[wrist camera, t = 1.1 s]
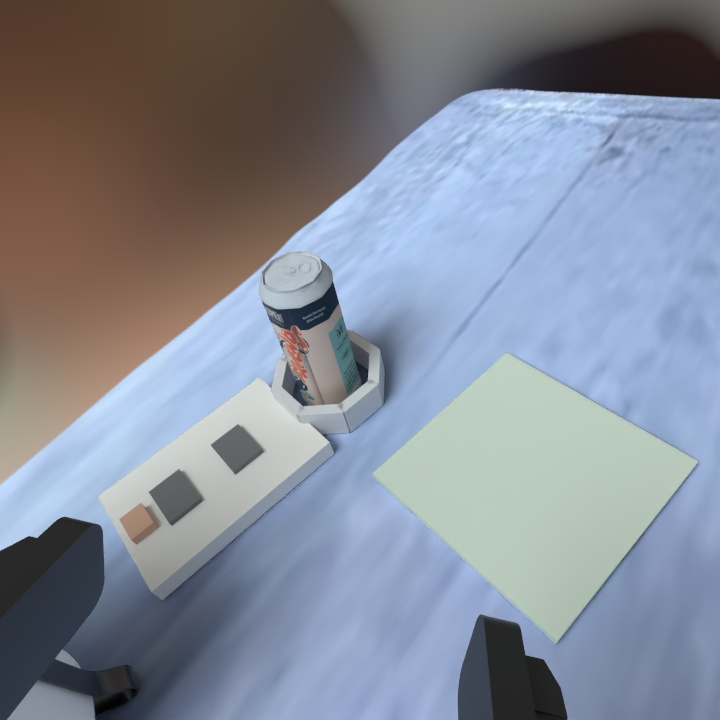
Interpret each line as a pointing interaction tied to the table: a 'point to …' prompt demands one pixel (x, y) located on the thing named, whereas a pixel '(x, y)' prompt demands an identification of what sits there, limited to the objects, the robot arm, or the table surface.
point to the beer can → (310, 327)
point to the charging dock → (231, 471)
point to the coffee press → (76, 692)
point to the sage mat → (535, 488)
